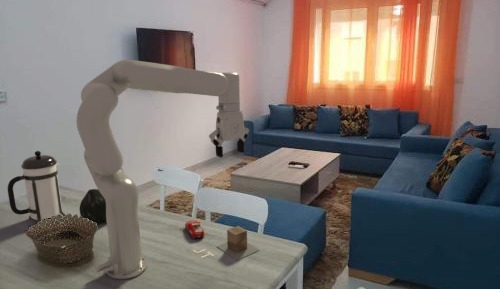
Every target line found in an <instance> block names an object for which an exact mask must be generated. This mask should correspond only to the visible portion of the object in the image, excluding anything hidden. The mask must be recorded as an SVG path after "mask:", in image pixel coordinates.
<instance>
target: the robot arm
mask: <svg viewBox="0 0 500 289" xmlns="http://www.w3.org/2000/svg"><path fill="white" fill-rule="evenodd" d="M127 89H133V90H140V91H141V90H142V91H151V92H161V93H172V94H190V95H198V96H199V95H202V96H210V97H217V98H218V99H217V100H218V104H217V106H216V110H217V111H218V112H217V114H216V121H215V130H214V131H212V132H210V134H209V135H208V138H209V139H210V142H212V144H213V145H214V146H215V155H216V157H219V158H223V156H224V152H223V151H224V148H223V146H222V145H223V143H224V142H229V141H234V140H237V141H236V143H237V144H236V145H237V146H236V149H237V150H236V151H237V152H238V153H244V152H245V142H246V139H247V138H248V135H249V132H250V129H249V128H247V127H246V126H245V121H244V115H243V111H242V110H241V109H240V108H241V105H240V104H241V103H240V102H241V97H240V95H241V92H240V91H241V90H240V75H239V73H238V72H232V71H231V72H226V71H225V72H215V71H206V70H199V69H193V68H186V67H183V66H178V65H171V64H166V63H165V64H163V63H158V62H150V61H149V62H148V61H141V60H134V59H122V60H119V61H116V62H115V63H113V64H112V65H111V66H110V67H108V68H106V70H104V71H103V72H101V73H100V74H98V75H97V76H96V77H95V78H93V79H91V80H90V81H89V82H87V83H86V84H85V85H84V86H83V87H82V89H81V91H80V92H81V93H80V99H81V103H80V105H79V108H78V110H77V114H76V128H77V131H78V134H79V136H80V139H81V142H82V144H83V147H84V152H83V155H84V156H83V157H84V161H85V164H86V167H87V168H88V170H89V173H90V175H91V177H92V180H93V182H94V184H95V186H96V189H98V190H99V192H100V193H101V194H102V196H103V197H104V198H105V201H106V221H107V222H106V227H107V228H106V229H107V236H108V245H109V255H110V256H109V257H107V261H105V262H104V263H102V264H98V265H96V266H95V267H94V268H95V272H96V273H99V272H102V274H107V276H109V277H110V278H112V279H114V280H115V279H116V280H126V279H132V278H134V277H136V276H139V275H141V274H143V273H144V271H145V270H146V269H148V260H147V259H146V258H145V257H144V256H143V255H142V254H143V253H142V246H141V233H140V221H139V190H138V188H137V185H136V183H135V182H134V180H132V178H130V177H129V176H128V175H127V174H125V171H124V170H123V162H124V161H123V155H122V152H121V151H120V148H119V147H118V144H117V142H116V139H115V137H114V134H113V132H112V129H111V126H110V117H111V115H112V113H113V112H114V110H115V109H116V107H117V106H118V103H119V96H120V95H121V94H123V92H125V91H126V90H127Z"/></svg>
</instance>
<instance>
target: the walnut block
mask: <svg viewBox="0 0 500 289" xmlns="http://www.w3.org/2000/svg"><path fill="white" fill-rule="evenodd" d="M226 236H227V237H226V239H227V244H228V248H229V249H230V250H232V251H233V252H235V253H238V252H241V251H243V250H245V249H247V243H248V230H247V229H245V228H243V227H241V226H239V225H237V226H234V227H232V228H228V229H227V230H226Z"/></svg>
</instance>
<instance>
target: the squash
mask: <svg viewBox="0 0 500 289" xmlns="http://www.w3.org/2000/svg"><path fill="white" fill-rule="evenodd" d="M79 204H80V205H79V214H80V217H81V216H82V217H83V218H88V219H89V220H92V221H93V222H96V223H95V224H96V225H97V224H102V222H104V223H107V221H106V201H105V198H104V197H103V196H102V194H101V193H100V192H99V190H98V188H91V189H88V191H87V192H86V194H85V195H84V196H83V198H82V199H81V201H80V203H79ZM82 217H81V218H82Z"/></svg>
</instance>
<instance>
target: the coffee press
mask: <svg viewBox="0 0 500 289" xmlns="http://www.w3.org/2000/svg"><path fill="white" fill-rule="evenodd" d="M20 166H21V169H22V172H23V174H22V175H21V176H19V175H18V176H15V177H13V178H12V179H10V180H9V182H8V184H7V195H8V201H9V206H10V209H11V211H12V212H13V213H15V214H16V215H26V214H29V215H28V219H29V220H34V221H36V224H37V223H38V222H39V221H41V220H43V221H45V220H44V219H46V218H51V217H52V216H56V217H59V218H60V219H62V217H64V216H65V217H66V214H65V213H64V212H63V207H62V199H61V191H60V184H59V176H58V174H59V173H58V169H57V167H59V166H61V165H60V163H59V162H57V159H55V157H53V156H51V155H47V154H46V155H45V154H43V155H42V152H41V151H39V150H36V151H35V152H34V156H30V157H27V158H26V159H24V160H23V161H22V164H21V165H20ZM23 180H24V184H25V191H26V196H27V203H28V208H25V209H18V208H17V205H16V199H15V194H14V186H15V184H16V183H17V182H19V181H23ZM51 219H52V218H51Z"/></svg>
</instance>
